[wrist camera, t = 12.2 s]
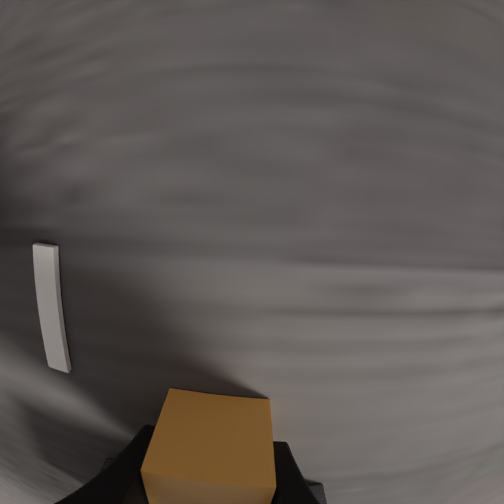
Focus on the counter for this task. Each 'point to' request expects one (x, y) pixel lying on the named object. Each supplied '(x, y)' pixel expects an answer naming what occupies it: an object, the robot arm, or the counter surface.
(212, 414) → the orange and grey bar
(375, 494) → the counter surface
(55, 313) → the white slender bar
